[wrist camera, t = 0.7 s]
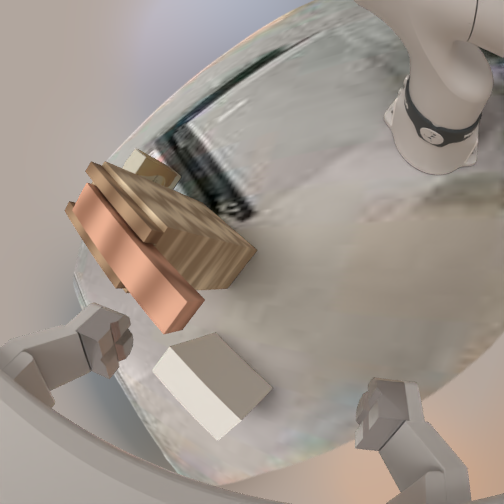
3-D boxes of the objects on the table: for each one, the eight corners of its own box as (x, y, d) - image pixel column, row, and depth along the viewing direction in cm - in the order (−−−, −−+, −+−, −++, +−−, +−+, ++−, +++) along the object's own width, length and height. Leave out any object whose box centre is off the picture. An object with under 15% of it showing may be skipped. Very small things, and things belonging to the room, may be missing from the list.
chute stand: (257, 250, 54) (155, 224, 28) (227, 288, 56) (113, 293, 30) (202, 202, 59) (93, 156, 33) (177, 239, 61) (62, 214, 35)
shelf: (273, 388, 51) (241, 420, 37) (253, 407, 52) (217, 440, 38) (215, 332, 56) (169, 346, 42) (198, 353, 57) (151, 370, 43)
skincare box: (165, 200, 63) (126, 186, 51) (155, 190, 64) (116, 175, 53) (183, 175, 62) (146, 156, 50) (171, 166, 63) (134, 146, 52)
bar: (205, 300, 28) (187, 301, 25) (182, 329, 28) (163, 334, 26) (104, 188, 34) (86, 182, 32) (89, 214, 35) (72, 210, 32)
